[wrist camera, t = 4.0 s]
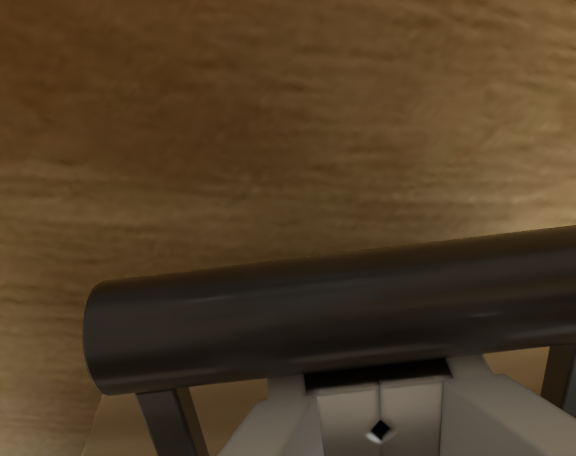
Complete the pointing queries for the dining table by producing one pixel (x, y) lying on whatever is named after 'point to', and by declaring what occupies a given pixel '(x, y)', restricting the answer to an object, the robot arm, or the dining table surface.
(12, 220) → the dining table surface
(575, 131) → the dining table surface
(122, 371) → the drawer
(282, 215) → the dining table surface
